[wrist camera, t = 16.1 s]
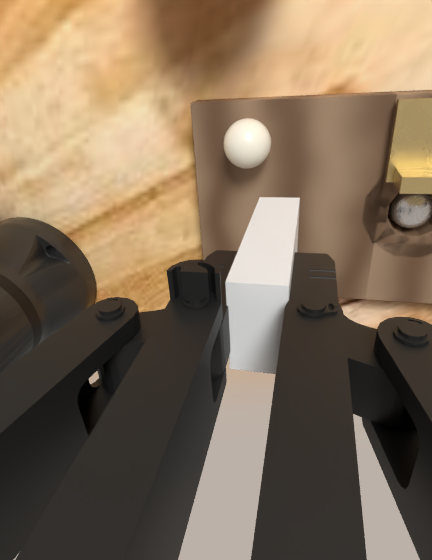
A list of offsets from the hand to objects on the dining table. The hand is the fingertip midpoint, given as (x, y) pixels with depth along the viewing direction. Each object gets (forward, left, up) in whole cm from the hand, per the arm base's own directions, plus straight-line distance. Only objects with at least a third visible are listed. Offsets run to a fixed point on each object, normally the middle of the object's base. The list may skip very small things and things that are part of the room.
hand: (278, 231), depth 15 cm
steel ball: (+10, -6, -21) cm, 24 cm away
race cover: (+10, 0, -20) cm, 22 cm away
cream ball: (-4, 0, -18) cm, 18 cm away
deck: (+4, -6, -22) cm, 24 cm away
